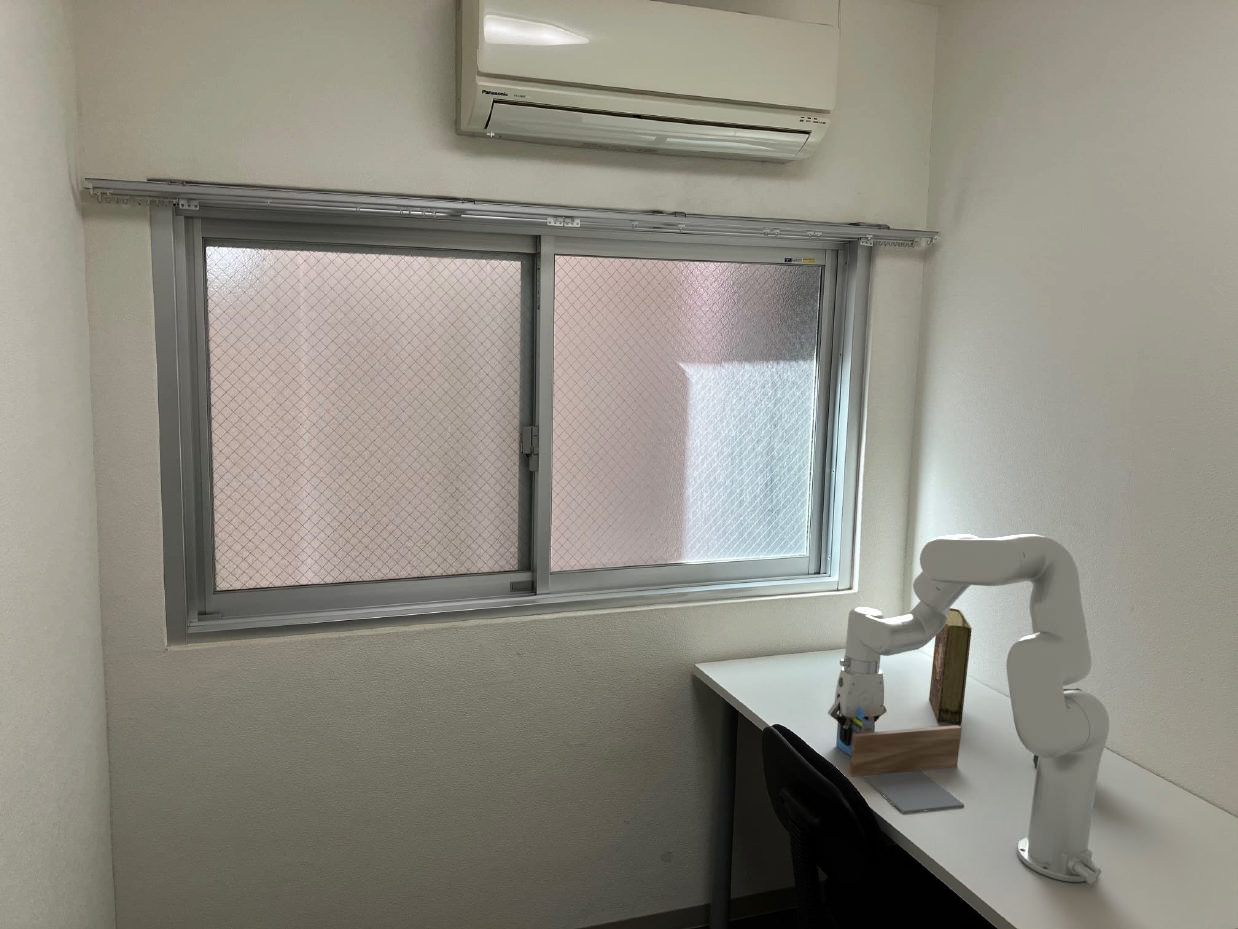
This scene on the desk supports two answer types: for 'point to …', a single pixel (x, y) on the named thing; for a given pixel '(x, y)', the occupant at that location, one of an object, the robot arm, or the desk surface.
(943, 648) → the book
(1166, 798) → the desk surface
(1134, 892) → the desk surface
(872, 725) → the label tape box
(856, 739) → the walnut screen
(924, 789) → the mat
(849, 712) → the robot arm
